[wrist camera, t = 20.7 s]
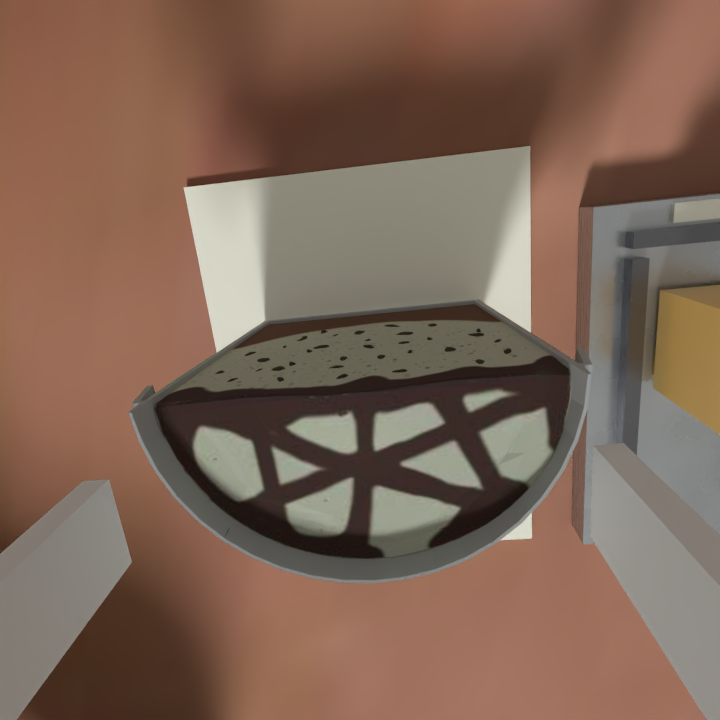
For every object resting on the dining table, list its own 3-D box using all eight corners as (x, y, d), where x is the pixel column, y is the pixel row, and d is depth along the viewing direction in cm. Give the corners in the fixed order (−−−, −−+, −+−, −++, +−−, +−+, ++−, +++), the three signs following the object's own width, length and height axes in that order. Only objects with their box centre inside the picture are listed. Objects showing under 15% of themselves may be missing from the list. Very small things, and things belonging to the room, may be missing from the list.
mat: (258, 547, 26) (256, 551, 26) (186, 187, 21) (183, 187, 20) (530, 534, 24) (531, 538, 24) (528, 146, 19) (530, 145, 19)
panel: (571, 524, 24) (588, 554, 22) (579, 207, 20) (601, 207, 18) (744, 516, 23) (779, 546, 21) (792, 184, 19) (841, 181, 17)
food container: (256, 447, 24) (164, 609, 14) (232, 323, 22) (107, 414, 12) (517, 428, 22) (607, 591, 13) (513, 295, 21) (616, 371, 11)
